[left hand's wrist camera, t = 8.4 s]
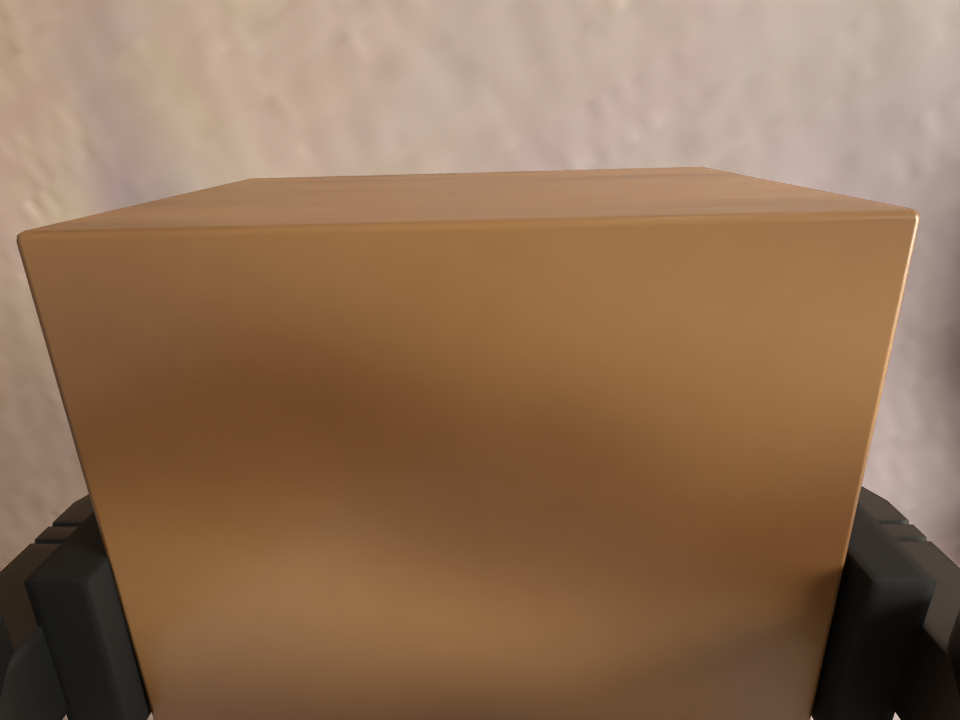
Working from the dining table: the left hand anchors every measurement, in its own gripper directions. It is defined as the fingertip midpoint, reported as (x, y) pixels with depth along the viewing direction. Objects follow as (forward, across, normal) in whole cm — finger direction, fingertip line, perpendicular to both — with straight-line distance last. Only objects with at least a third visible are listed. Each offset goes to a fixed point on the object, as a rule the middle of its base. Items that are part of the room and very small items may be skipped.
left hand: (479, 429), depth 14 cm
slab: (+1, +1, -21) cm, 21 cm away
